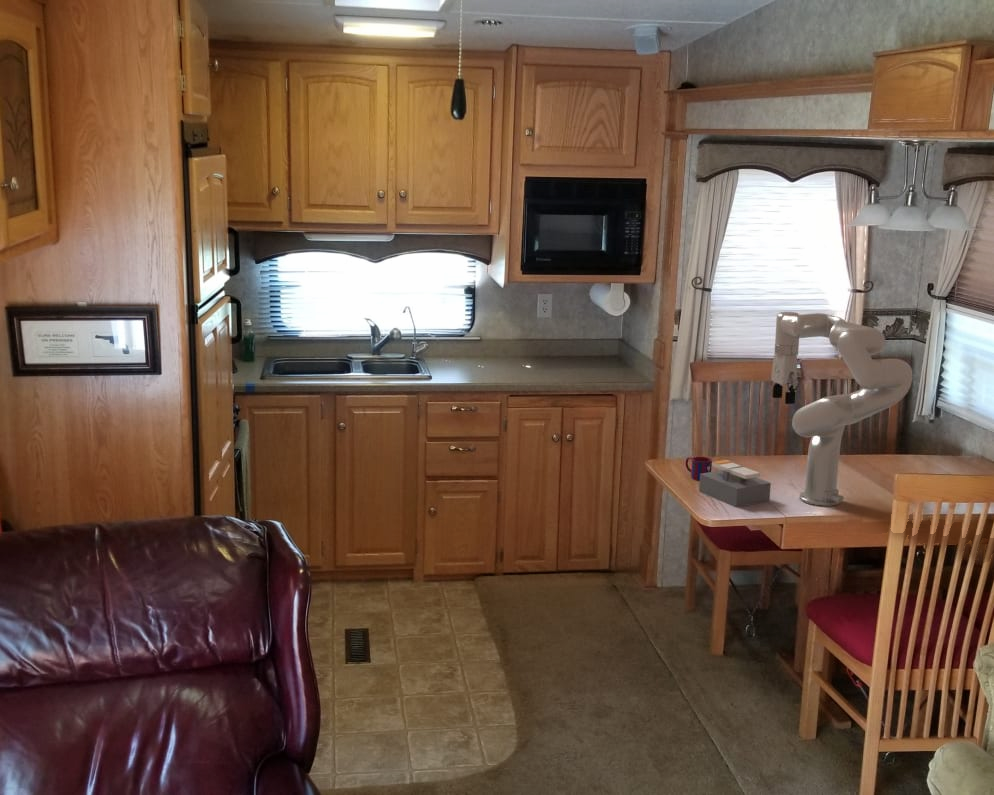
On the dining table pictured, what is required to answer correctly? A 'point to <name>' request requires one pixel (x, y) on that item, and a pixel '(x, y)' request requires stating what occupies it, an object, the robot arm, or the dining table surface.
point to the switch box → (734, 488)
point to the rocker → (735, 469)
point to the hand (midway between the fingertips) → (783, 400)
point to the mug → (699, 466)
